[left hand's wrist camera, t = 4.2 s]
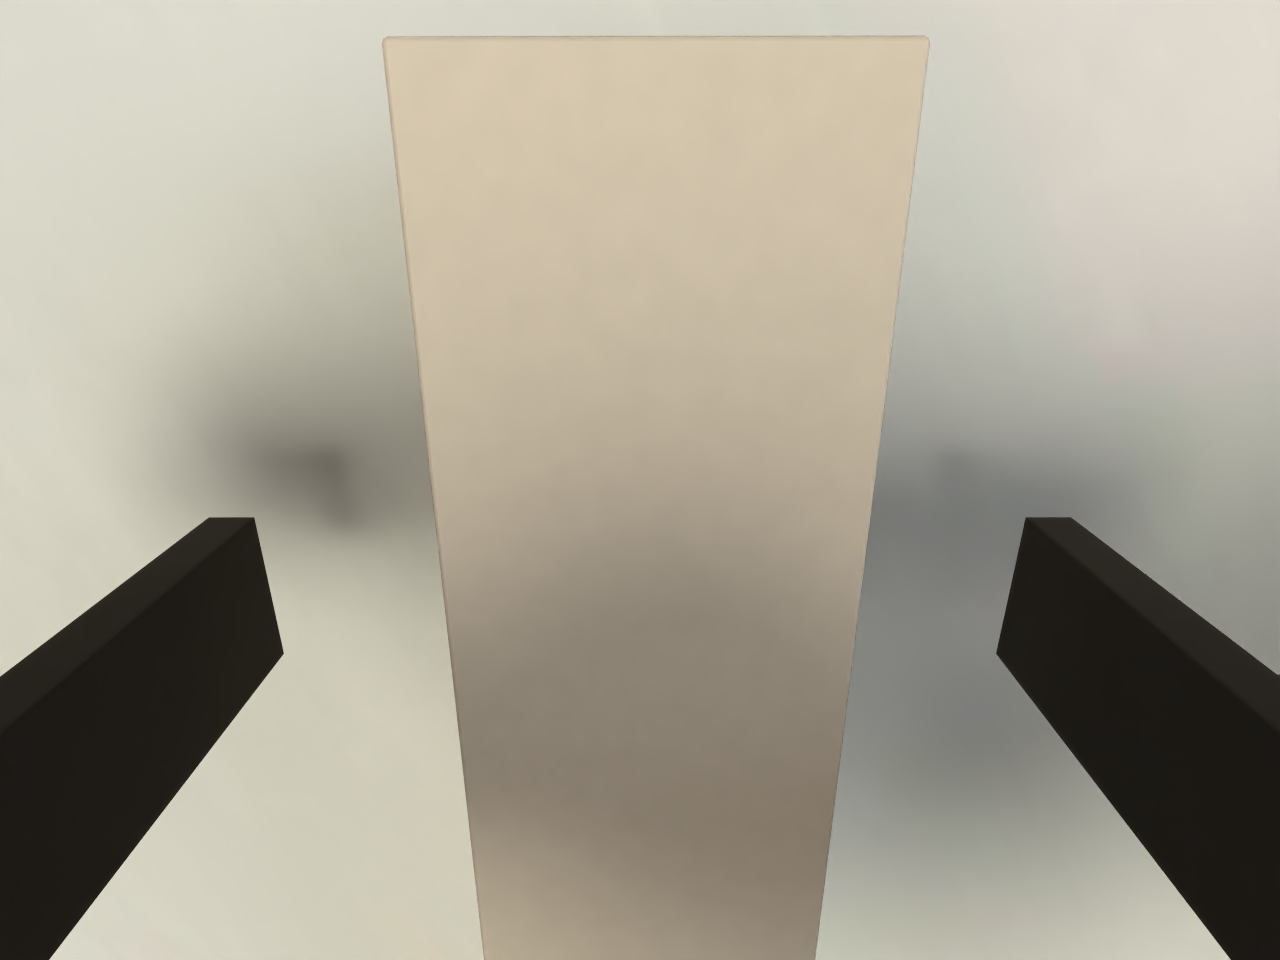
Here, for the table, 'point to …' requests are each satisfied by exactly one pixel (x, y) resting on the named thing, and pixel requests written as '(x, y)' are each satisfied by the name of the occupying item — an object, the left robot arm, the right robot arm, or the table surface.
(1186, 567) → the table surface
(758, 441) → the post
